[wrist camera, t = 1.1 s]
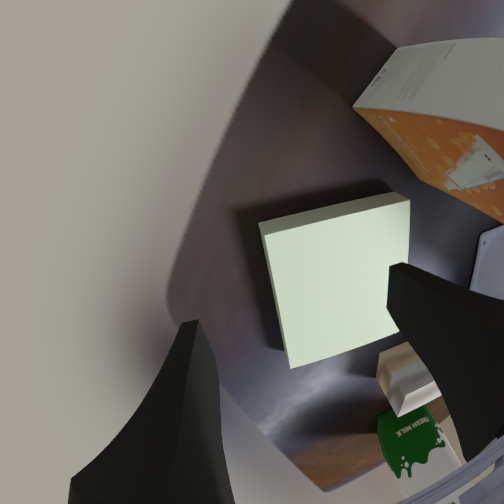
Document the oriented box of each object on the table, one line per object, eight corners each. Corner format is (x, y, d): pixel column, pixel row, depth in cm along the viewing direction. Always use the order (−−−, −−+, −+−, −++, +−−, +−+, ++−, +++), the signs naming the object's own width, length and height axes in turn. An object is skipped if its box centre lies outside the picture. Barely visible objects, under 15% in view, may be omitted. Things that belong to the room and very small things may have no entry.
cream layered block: (425, 355, 29) (449, 390, 24) (375, 377, 29) (397, 417, 24) (432, 329, 27) (461, 365, 22) (379, 352, 27) (405, 395, 22)
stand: (388, 317, 25) (398, 331, 23) (284, 351, 24) (290, 368, 23) (394, 191, 19) (410, 200, 17) (258, 222, 19) (264, 235, 17)
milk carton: (371, 437, 38) (414, 534, 20) (371, 415, 34) (425, 532, 16) (418, 413, 38) (466, 503, 20) (425, 388, 34) (487, 492, 16)
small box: (348, 108, 16) (536, 140, 5) (396, 46, 14) (565, 36, 3) (419, 183, 19) (560, 266, 8) (457, 124, 17) (598, 172, 6)
